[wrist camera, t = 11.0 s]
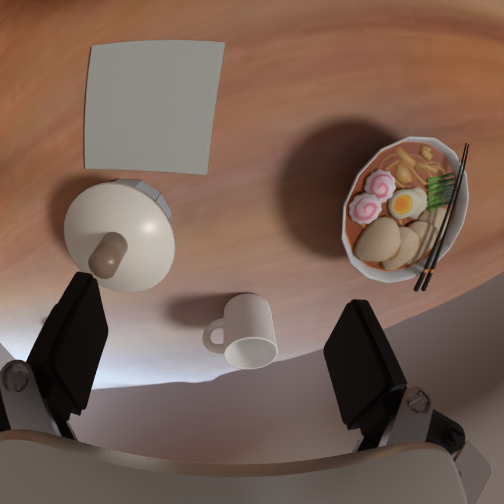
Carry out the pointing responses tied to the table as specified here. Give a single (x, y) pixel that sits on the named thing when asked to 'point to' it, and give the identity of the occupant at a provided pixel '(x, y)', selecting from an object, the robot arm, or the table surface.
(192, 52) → the mat
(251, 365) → the mug
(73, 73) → the table surface
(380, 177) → the ramen bowl
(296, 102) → the table surface
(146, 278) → the lid
